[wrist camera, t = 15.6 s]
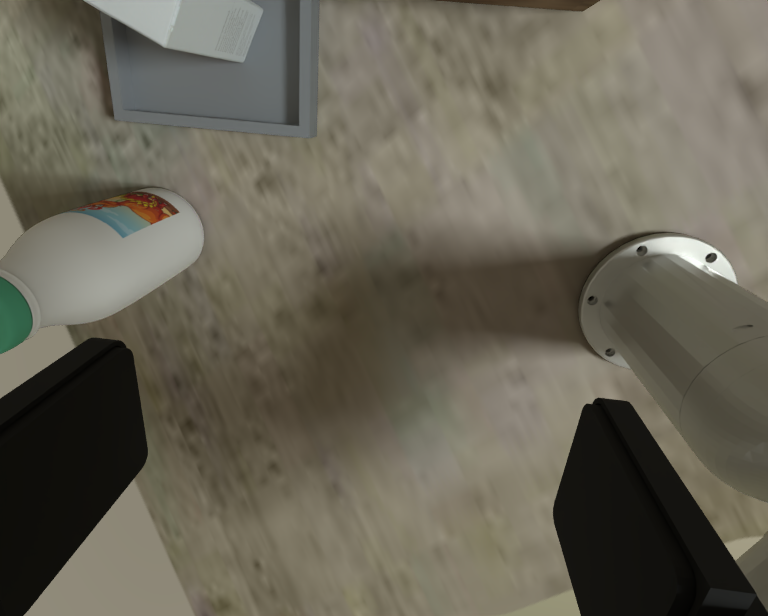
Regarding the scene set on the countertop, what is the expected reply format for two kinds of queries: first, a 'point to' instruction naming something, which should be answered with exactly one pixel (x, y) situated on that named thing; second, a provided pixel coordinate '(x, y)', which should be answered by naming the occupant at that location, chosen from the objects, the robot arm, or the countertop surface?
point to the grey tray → (222, 77)
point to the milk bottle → (95, 261)
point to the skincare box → (190, 24)
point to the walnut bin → (538, 3)
